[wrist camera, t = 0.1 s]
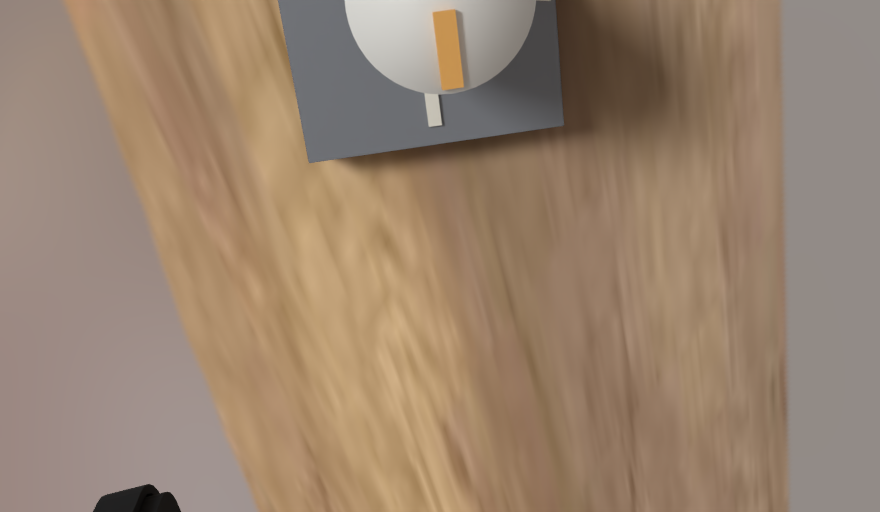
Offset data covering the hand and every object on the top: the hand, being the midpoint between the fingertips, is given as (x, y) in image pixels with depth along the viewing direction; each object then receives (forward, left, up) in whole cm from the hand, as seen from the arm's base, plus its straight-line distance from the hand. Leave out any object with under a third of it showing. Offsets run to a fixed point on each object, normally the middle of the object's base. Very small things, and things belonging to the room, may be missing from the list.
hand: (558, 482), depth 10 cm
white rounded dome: (-5, +1, -23) cm, 23 cm away
